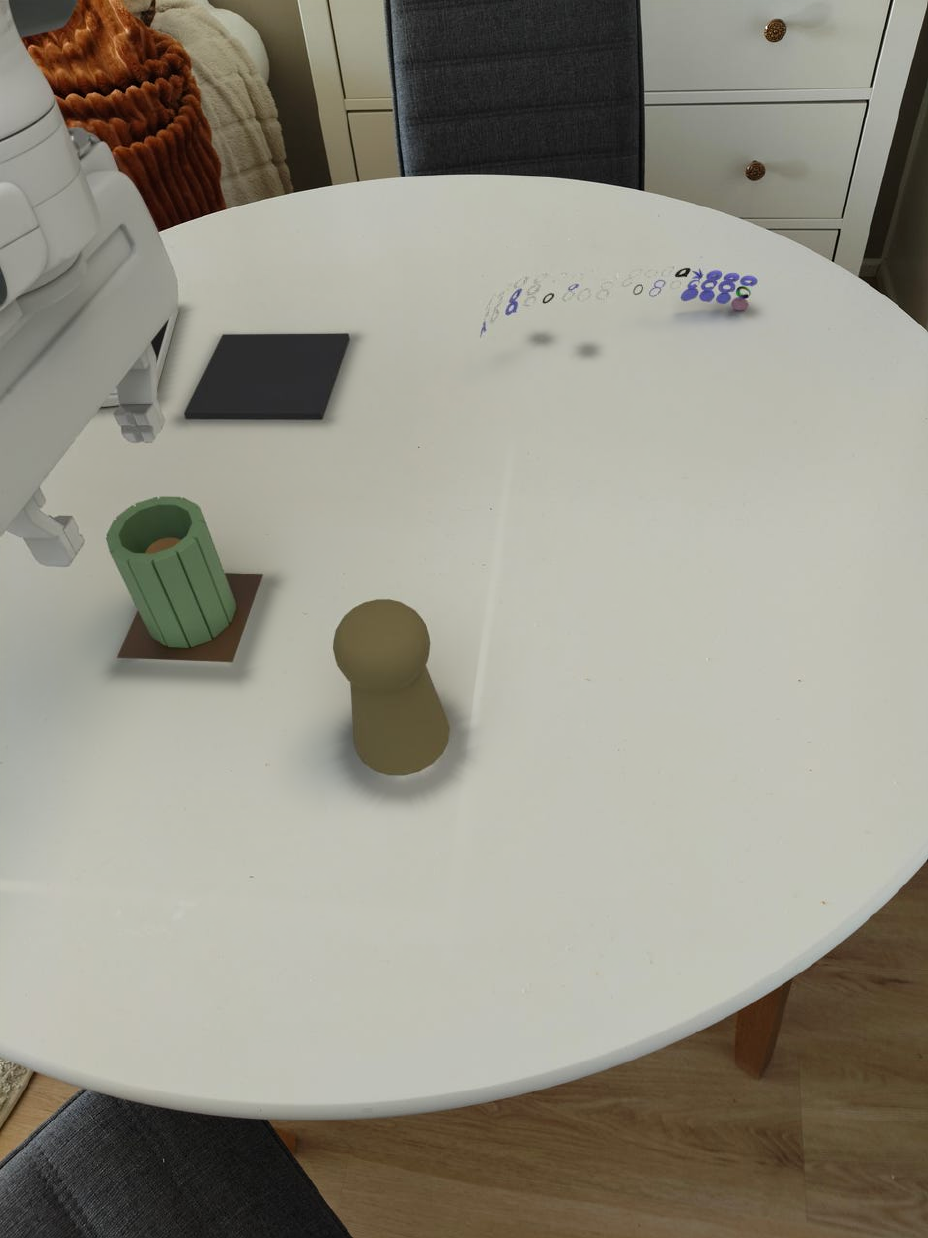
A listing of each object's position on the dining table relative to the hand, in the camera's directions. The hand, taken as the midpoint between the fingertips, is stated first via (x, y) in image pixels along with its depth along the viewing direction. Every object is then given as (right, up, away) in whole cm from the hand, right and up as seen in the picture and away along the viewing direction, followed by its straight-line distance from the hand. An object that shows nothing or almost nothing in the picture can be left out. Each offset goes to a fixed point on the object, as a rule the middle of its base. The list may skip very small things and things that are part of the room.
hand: (108, 491), depth 48 cm
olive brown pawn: (+14, -14, +12) cm, 23 cm away
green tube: (-1, -6, +19) cm, 20 cm away
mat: (0, +15, +40) cm, 42 cm away
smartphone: (-14, +18, +44) cm, 49 cm away
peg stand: (-1, -6, +20) cm, 21 cm away
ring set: (+31, +19, +39) cm, 53 cm away
